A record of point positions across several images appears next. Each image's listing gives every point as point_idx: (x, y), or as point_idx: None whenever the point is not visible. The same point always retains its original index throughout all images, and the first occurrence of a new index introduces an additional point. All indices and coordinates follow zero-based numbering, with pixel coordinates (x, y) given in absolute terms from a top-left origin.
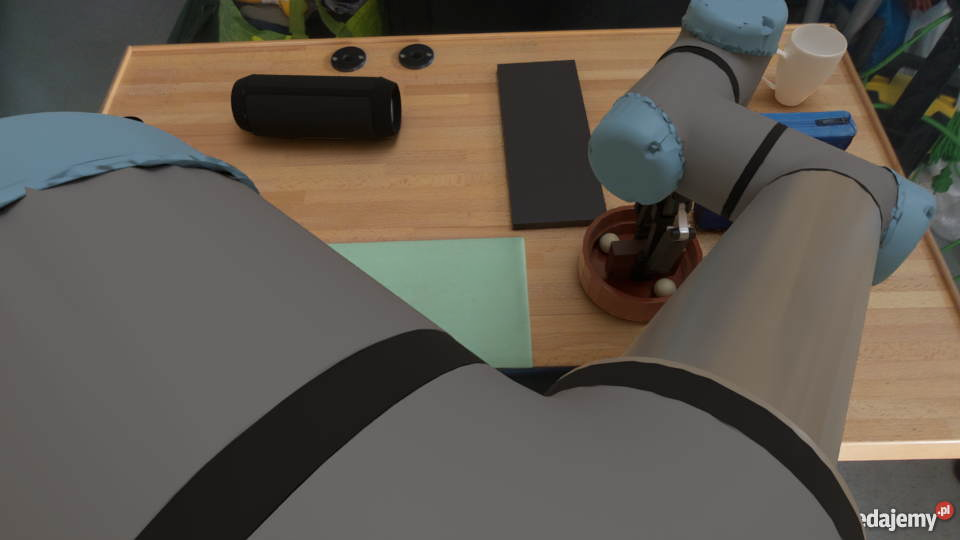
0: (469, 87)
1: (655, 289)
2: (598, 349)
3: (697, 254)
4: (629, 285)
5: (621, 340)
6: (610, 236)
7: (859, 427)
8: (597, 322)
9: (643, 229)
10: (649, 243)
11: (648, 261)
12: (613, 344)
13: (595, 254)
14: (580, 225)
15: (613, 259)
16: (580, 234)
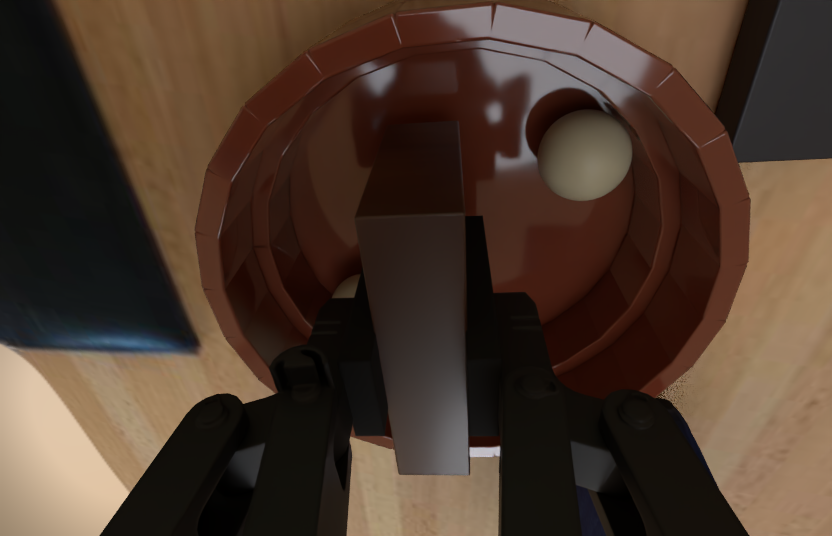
0: None
1: (354, 285)
2: (135, 51)
3: None
4: None
5: (197, 140)
6: (601, 170)
7: None
8: (248, 59)
9: (499, 396)
10: (274, 500)
11: (242, 409)
12: (174, 111)
13: (553, 83)
14: (744, 24)
15: (362, 196)
16: (693, 20)
